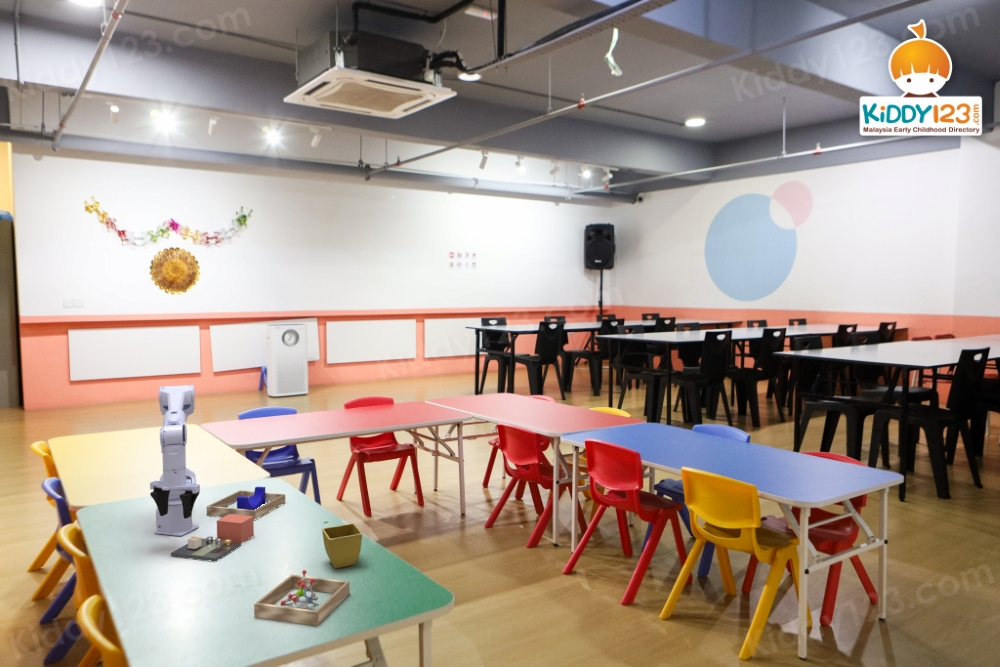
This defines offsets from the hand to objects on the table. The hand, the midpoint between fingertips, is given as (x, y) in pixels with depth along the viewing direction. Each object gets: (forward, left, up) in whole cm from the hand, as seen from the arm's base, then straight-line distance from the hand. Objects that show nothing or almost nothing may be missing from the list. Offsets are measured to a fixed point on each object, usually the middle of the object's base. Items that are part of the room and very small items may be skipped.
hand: (175, 516), depth 182 cm
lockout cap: (+11, +11, -10) cm, 18 cm away
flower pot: (+49, +3, -10) cm, 50 cm away
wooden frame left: (-1, +34, -10) cm, 35 cm away
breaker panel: (+9, +1, -10) cm, 13 cm away
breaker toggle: (+6, 0, -8) cm, 10 cm away
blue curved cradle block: (0, +34, -10) cm, 35 cm away
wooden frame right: (+51, -20, -10) cm, 55 cm away
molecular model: (+50, -21, -10) cm, 55 cm away
